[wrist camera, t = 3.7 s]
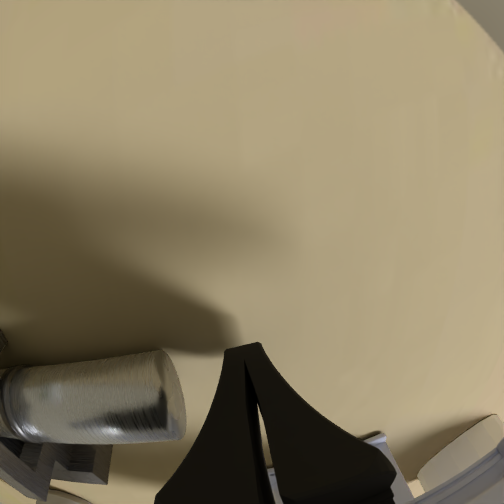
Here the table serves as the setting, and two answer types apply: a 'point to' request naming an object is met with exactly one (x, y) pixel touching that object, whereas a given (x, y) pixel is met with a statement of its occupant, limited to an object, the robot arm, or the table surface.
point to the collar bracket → (50, 462)
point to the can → (62, 498)
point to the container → (462, 452)
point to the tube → (94, 401)
